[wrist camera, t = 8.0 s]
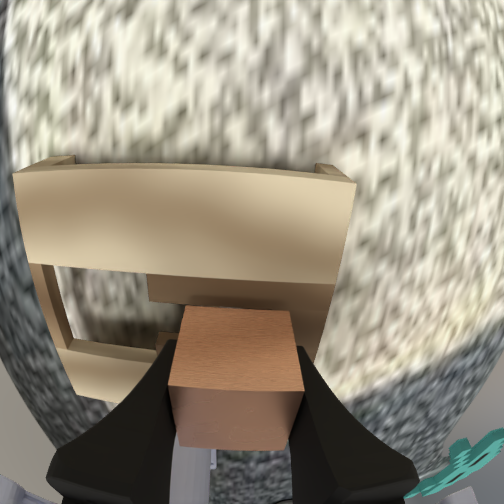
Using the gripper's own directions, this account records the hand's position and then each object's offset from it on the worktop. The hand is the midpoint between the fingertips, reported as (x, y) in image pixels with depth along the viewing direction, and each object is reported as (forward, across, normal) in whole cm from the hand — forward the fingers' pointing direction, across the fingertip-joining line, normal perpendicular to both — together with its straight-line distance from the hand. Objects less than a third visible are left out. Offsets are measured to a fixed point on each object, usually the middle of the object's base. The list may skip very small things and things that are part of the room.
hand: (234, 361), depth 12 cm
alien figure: (+6, -40, +37) cm, 55 cm away
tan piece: (+5, +3, 0) cm, 6 cm away
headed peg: (+5, 0, 0) cm, 5 cm away
